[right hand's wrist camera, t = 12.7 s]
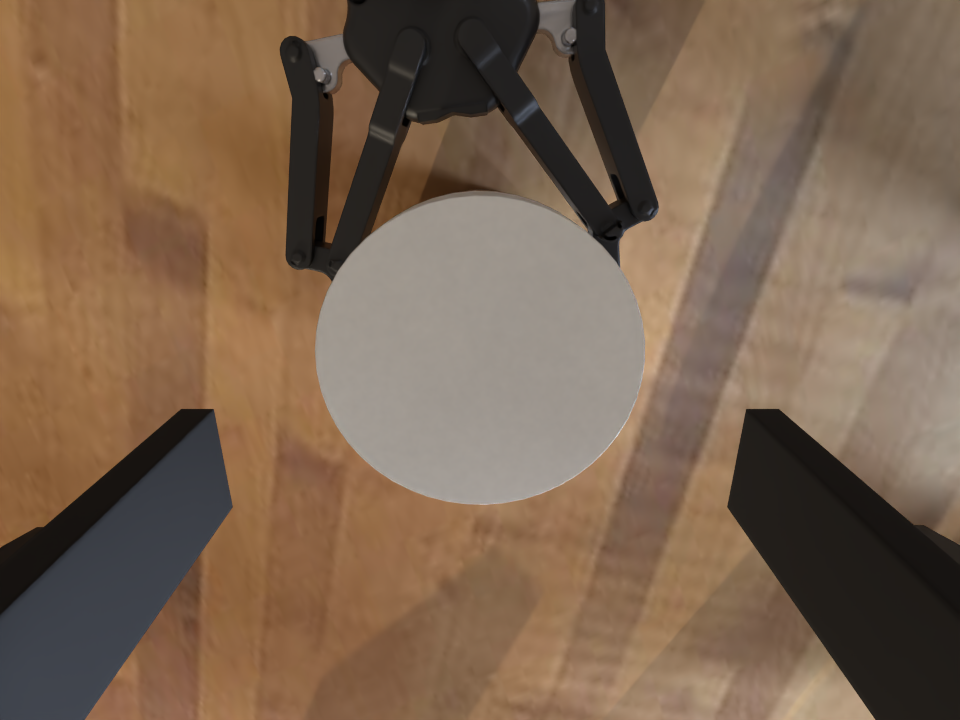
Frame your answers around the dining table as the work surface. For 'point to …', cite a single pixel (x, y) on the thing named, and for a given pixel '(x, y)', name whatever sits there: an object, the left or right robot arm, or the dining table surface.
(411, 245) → the lid
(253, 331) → the dining table surface
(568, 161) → the left robot arm
